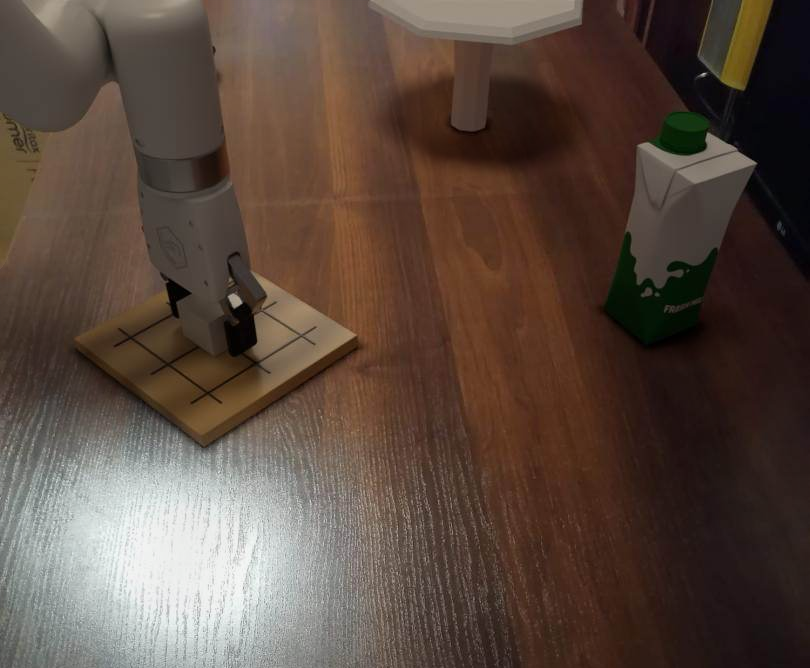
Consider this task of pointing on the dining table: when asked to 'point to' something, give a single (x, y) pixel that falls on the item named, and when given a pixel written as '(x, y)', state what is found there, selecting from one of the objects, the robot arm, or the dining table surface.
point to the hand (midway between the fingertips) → (214, 329)
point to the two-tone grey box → (205, 322)
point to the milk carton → (675, 226)
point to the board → (215, 360)
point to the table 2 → (479, 38)
